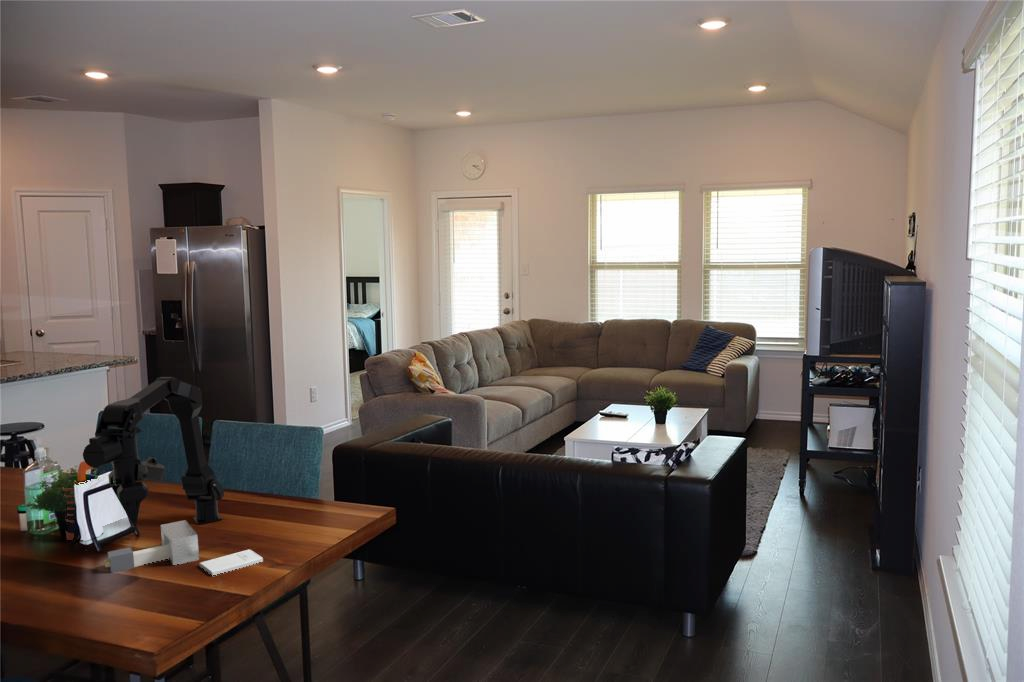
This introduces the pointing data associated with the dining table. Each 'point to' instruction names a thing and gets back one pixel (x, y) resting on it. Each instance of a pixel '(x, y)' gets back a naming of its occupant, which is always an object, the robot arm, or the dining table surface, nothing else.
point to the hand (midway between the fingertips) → (131, 517)
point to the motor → (79, 478)
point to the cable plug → (135, 557)
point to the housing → (180, 542)
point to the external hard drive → (231, 562)
